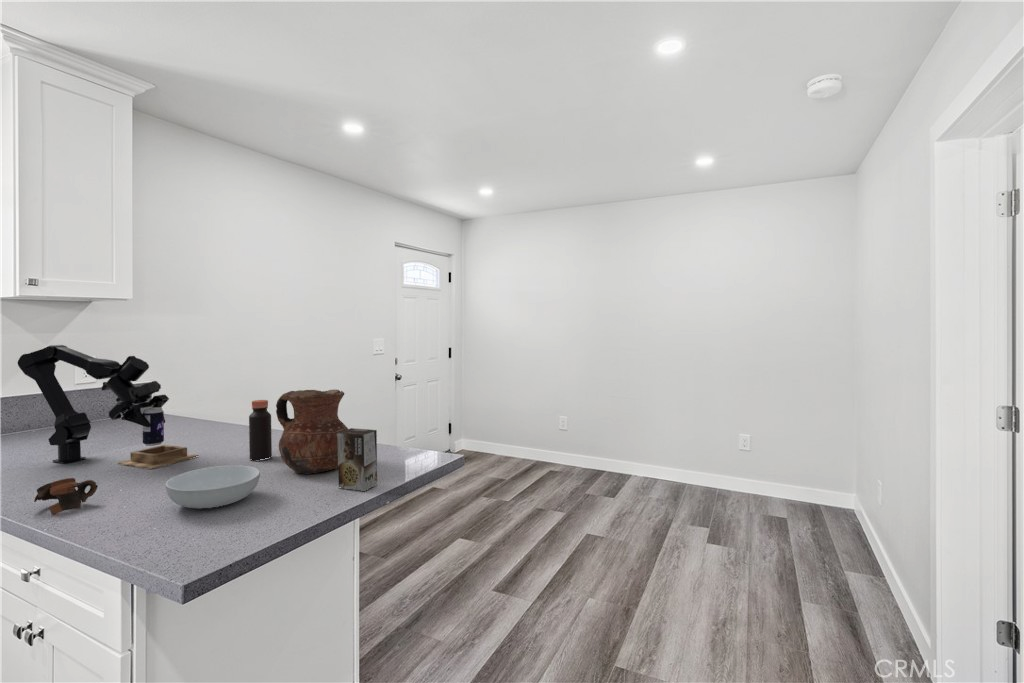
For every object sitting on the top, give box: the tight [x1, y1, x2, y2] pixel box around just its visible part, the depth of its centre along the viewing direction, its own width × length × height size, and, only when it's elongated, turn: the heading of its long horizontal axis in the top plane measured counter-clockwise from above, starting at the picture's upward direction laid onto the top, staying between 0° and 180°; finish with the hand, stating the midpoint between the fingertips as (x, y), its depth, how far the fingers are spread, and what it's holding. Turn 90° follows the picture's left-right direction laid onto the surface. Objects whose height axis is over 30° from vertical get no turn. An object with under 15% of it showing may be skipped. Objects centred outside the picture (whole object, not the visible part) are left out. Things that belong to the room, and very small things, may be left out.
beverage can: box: [141, 407, 165, 447], centre depth 161 cm, size 6×6×12 cm
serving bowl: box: [165, 464, 261, 509], centre depth 126 cm, size 21×21×7 cm
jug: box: [275, 389, 349, 474], centre depth 156 cm, size 22×21×25 cm
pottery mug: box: [33, 477, 99, 515], centre depth 123 cm, size 12×10×8 cm
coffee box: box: [337, 427, 378, 492], centre depth 138 cm, size 9×6×16 cm
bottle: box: [248, 399, 273, 461], centre depth 167 cm, size 7×7×20 cm
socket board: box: [117, 444, 200, 470], centre depth 164 cm, size 16×16×4 cm
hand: (157, 424), depth 161 cm, fingers closed on beverage can, 6 cm apart
